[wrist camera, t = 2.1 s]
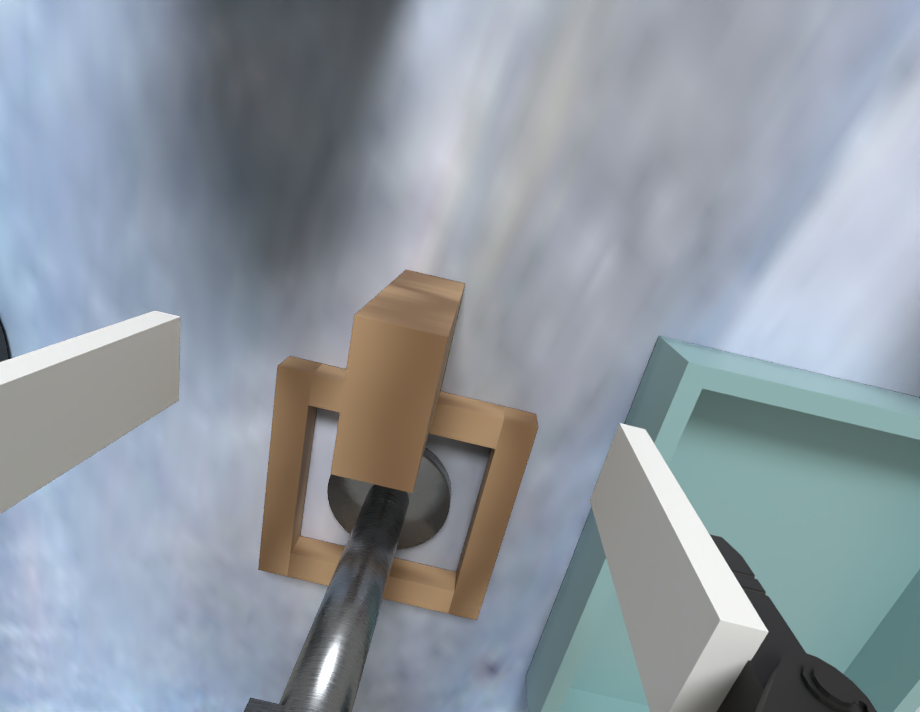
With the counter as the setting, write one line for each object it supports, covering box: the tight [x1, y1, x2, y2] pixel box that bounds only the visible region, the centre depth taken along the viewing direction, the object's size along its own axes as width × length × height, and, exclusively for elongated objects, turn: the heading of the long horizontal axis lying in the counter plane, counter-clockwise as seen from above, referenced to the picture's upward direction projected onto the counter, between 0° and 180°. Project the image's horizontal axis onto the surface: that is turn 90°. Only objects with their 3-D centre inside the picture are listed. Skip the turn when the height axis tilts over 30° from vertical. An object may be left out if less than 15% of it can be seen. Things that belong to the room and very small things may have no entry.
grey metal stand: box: [244, 448, 451, 712], centre depth 21 cm, size 8×7×15 cm
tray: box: [526, 336, 920, 712], centre depth 26 cm, size 19×25×4 cm
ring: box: [258, 270, 538, 620], centre depth 22 cm, size 14×20×9 cm
